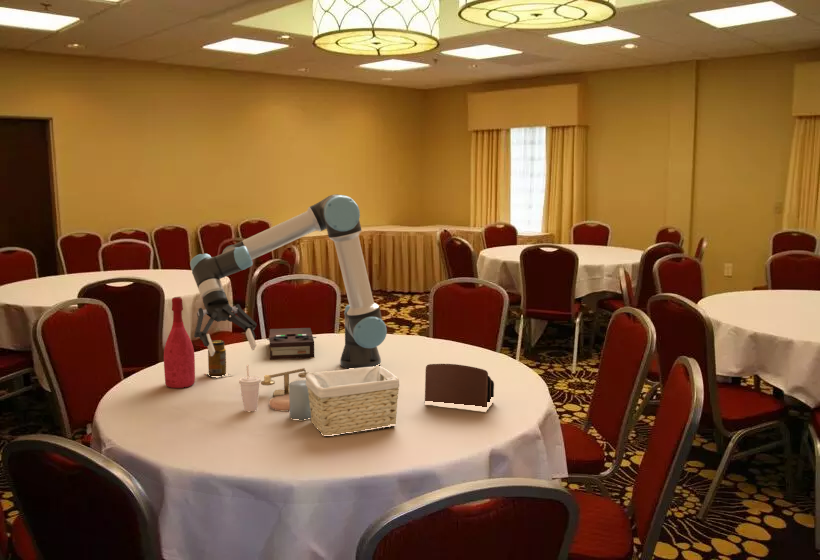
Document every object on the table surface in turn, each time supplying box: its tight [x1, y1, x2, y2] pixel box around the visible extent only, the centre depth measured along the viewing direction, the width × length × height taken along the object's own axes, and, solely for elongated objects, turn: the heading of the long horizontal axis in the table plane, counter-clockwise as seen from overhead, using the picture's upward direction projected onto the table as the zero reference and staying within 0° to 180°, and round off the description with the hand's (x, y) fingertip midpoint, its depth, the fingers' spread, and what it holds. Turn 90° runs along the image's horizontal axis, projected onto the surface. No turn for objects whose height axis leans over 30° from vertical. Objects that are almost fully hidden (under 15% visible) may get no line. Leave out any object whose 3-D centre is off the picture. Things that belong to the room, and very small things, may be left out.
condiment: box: [207, 339, 234, 379], centre depth 252 cm, size 7×8×12 cm
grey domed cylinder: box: [289, 379, 311, 421], centre depth 210 cm, size 7×7×10 cm
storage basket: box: [305, 365, 400, 437], centre depth 203 cm, size 24×16×15 cm
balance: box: [260, 367, 309, 398], centre depth 231 cm, size 16×5×9 cm, turn 93°
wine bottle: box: [163, 296, 196, 389], centre depth 238 cm, size 10×10×30 cm
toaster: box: [424, 363, 495, 407], centre depth 222 cm, size 10×20×14 cm, turn 71°
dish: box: [269, 395, 290, 412], centre depth 222 cm, size 12×12×1 cm
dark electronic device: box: [266, 327, 317, 360], centre depth 288 cm, size 19×8×30 cm
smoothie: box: [238, 364, 262, 412], centre depth 215 cm, size 6×6×14 cm
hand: (234, 350), depth 222 cm, fingers open, 13 cm apart
